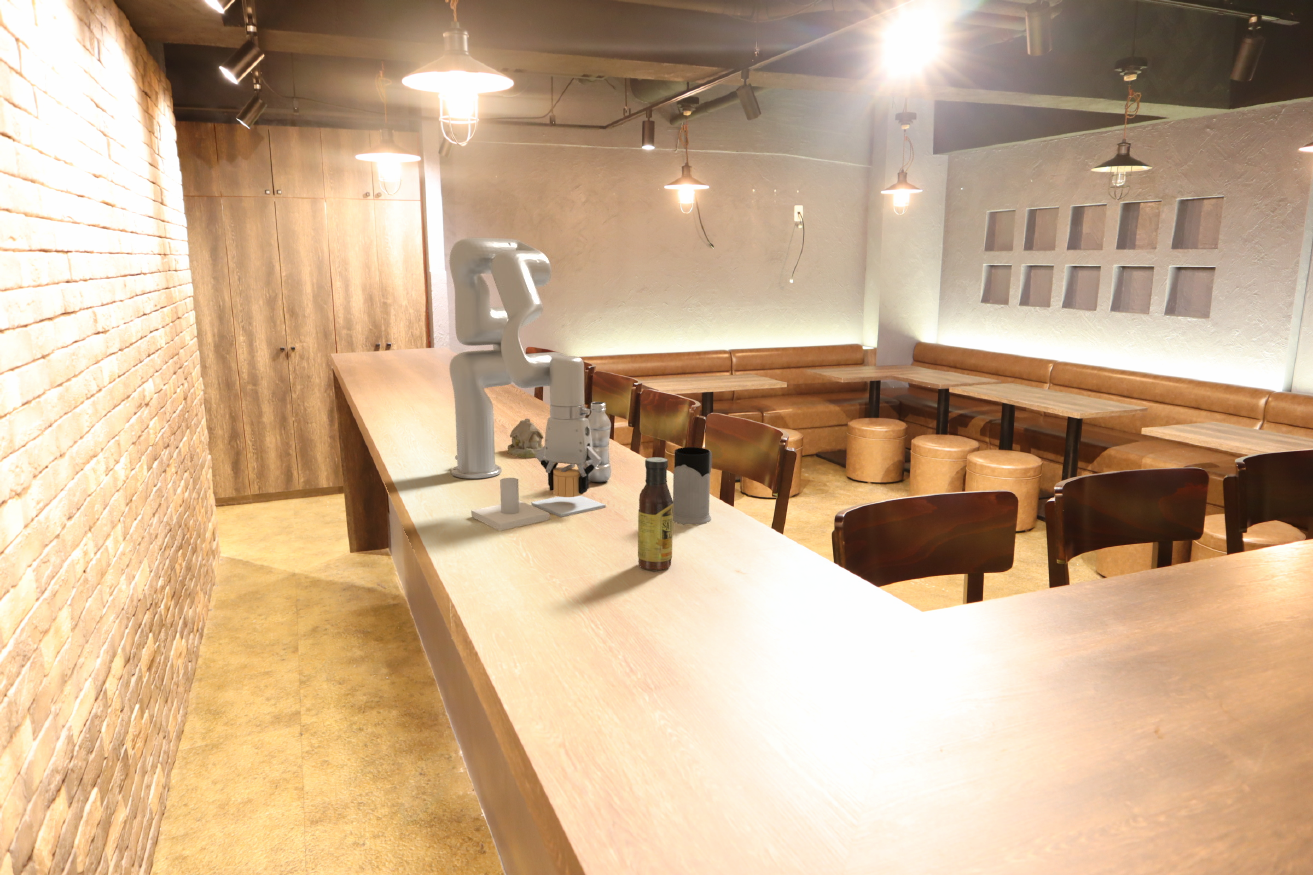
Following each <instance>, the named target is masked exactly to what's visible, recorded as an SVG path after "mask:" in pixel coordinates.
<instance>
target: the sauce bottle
mask: <svg viewBox="0 0 1313 875" xmlns="http://www.w3.org/2000/svg"><path fill="white" fill-rule="evenodd" d="M644 463H645V464H644V467H645V485H644V487H643V488H642V489H641V491H640V493H639V498H638V501H639V502H638V505H639V506H638V510H637V511H638V513H637V514H638V515H637V516H638V517H637V518H638V519H637V522H638V524H637V526H638V527H637V557H638V561H637V562H638V563H637V564H638V566H639V567H640V568H641V569H644V570H646V571H654V572H655V571H656V572H657V571H664V570H666V569H669V568H670V567H671V566H672V558H673V535H674V534H673V533H674V532H673V530H674V529H673V527H674V522H673V496H672V495H671V492H670V488H669V486H668V478H667V477H668V476H667V474H668V472H667V471H668V467H669V463H668V459H667V458H665V457H658V456H657V457H656V456H655V457H648V458H646V459H645V460H644Z"/></svg>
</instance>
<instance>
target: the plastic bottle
mask: <svg viewBox="0 0 1313 875" xmlns="http://www.w3.org/2000/svg"><path fill="white" fill-rule="evenodd" d="M606 410H607V408H606V402H603V401H593V402H591V403H590V414H589V416H588V417H587V418H588V420H589V425H590V430H591V437H592V450H593V451H594V452H595V453H596V454H597V455H598V456H599V457H600V458H601V460H602V461H601V462H600V463H599V464H598V465H597V466H596V468H595V469H594V470H593V471H592V472H591V473H590V474H589V482H593V483H604V482H607V481H609V480H610V478H611V475H612V466H611V463H610V462H611V461H610V460H611V459H610V448H609V447H610V446H609V445H610V435H611V427H612V423H611V420H610V418H609V417H608V415H607V413H606ZM587 463H588V466H589V465H590V464H591V463H592V459H591V460H589V461H587Z"/></svg>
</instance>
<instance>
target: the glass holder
mask: <svg viewBox="0 0 1313 875" xmlns="http://www.w3.org/2000/svg"><path fill="white" fill-rule="evenodd" d="M673 465H674V466H673V468H674V470H673V475H672V476H673V478H672V480H673V482H672V483H673V485H672V488H673V489H672V491H673V492H672V500H673V521H674V522H673V523H676V522H677V524H680V525H685V524H699V525H704V524H708V523H709V522H711V521H712V518H711V515H710V497H711V496H710V491H711V490H710V489H711V488H710V487H711V472H712V465H713V454H712V451H711V450H710V449H707V448H704V447H697V446H696V447H695V446H689V447H688V446H685V447H679V448H676V449H675V450H674V464H673ZM707 522H708V523H707Z"/></svg>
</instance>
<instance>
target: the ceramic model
mask: <svg viewBox="0 0 1313 875" xmlns="http://www.w3.org/2000/svg"><path fill="white" fill-rule="evenodd" d="M509 438H511V443H510V444H508V445H507V451H506V452H507V454H509V455H511V456H514V457H518V458H523V459H524V458H525V459H533V458H536V457H535V454H536V453H537V452H538V451H539V450H540V449H541V448H542V447H544V445H543V444H542V442H543V441H542V440H543V439H545V436H544V434H543V433H542V432H541V430H540V429H539V428H538V427H537V426H536V425H535V424H534V423H533V422H531V420H530V418H524V419H523V420H520V421H519V423H518V424H516V425H515V426H514V427H513V429H512V430H511V432H510V434H509ZM544 456H545V454H544Z"/></svg>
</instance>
